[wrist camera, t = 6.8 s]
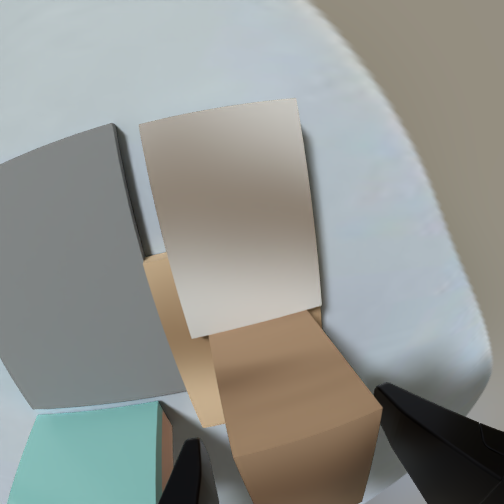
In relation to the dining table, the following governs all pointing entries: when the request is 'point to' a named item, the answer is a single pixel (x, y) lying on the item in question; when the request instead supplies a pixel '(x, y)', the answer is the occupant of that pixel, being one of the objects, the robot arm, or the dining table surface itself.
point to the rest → (189, 342)
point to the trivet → (77, 280)
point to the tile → (96, 457)
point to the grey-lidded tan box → (261, 299)
